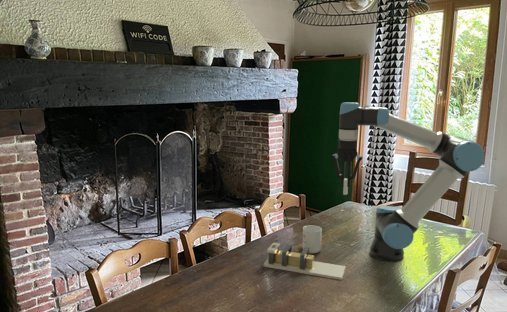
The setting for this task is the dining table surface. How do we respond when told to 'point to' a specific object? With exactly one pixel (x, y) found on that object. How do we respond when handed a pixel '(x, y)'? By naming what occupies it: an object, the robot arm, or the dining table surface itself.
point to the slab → (313, 269)
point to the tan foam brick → (293, 258)
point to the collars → (288, 248)
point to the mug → (312, 238)
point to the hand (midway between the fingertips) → (345, 193)
